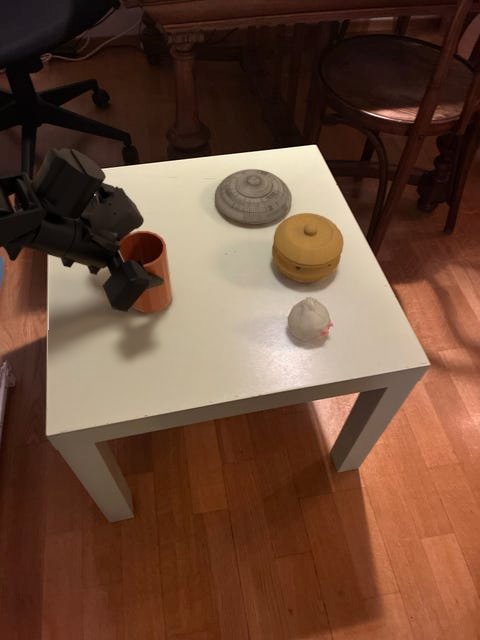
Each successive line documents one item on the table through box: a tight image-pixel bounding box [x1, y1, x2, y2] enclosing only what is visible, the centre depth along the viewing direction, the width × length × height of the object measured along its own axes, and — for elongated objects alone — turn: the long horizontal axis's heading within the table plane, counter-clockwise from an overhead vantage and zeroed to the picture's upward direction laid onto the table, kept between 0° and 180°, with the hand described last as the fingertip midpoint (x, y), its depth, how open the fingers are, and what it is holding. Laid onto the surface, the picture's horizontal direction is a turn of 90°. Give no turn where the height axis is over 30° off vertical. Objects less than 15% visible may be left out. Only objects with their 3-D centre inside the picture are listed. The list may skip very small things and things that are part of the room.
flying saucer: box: [214, 168, 293, 225], centre depth 93 cm, size 15×15×6 cm
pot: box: [271, 212, 345, 283], centre depth 82 cm, size 12×12×10 cm
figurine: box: [287, 296, 334, 342], centre depth 74 cm, size 6×7×8 cm
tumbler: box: [119, 230, 173, 314], centre depth 75 cm, size 7×7×11 cm
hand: (153, 265), depth 75 cm, fingers closed on tumbler, 7 cm apart
